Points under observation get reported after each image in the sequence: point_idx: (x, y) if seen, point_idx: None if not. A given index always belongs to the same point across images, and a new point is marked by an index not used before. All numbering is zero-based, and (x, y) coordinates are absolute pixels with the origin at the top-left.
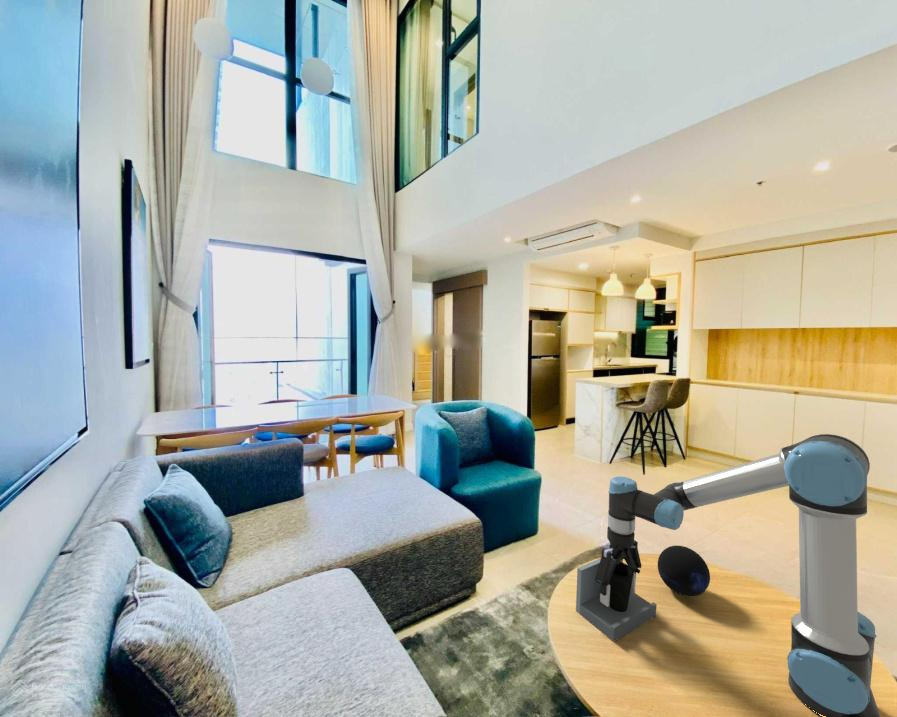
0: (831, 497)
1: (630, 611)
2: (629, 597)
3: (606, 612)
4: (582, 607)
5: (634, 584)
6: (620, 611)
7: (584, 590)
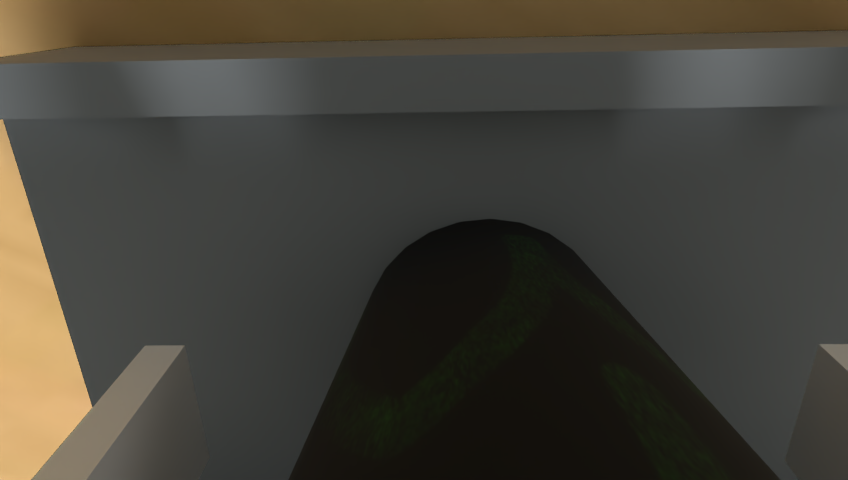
0: None
1: (424, 185)
2: (210, 346)
3: (726, 313)
4: None
5: (79, 464)
6: (559, 243)
7: None
